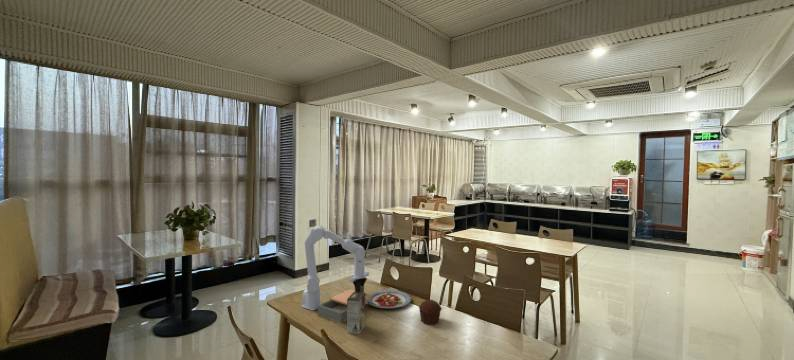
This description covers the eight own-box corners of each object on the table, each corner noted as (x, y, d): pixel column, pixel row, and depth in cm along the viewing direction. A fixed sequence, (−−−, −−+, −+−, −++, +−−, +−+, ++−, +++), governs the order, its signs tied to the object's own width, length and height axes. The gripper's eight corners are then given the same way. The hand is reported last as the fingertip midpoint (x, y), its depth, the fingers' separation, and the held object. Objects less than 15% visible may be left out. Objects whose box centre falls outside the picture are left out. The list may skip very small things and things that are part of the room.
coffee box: (353, 323, 163) (353, 291, 163) (365, 325, 162) (366, 292, 161) (346, 333, 154) (346, 298, 154) (360, 334, 153) (360, 300, 152)
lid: (329, 299, 180) (329, 291, 179) (350, 290, 193) (350, 282, 193) (353, 307, 170) (353, 297, 170) (373, 296, 184) (373, 288, 184)
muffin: (417, 316, 172) (417, 297, 172) (438, 315, 173) (438, 296, 173) (421, 327, 160) (421, 306, 160) (443, 326, 161) (444, 305, 161)
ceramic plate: (356, 301, 191) (356, 296, 191) (390, 290, 209) (390, 285, 209) (385, 316, 172) (385, 310, 172) (420, 302, 190) (420, 297, 190)
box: (318, 315, 172) (318, 305, 172) (339, 304, 186) (339, 295, 185) (341, 323, 164) (341, 313, 163) (361, 311, 177) (361, 302, 177)
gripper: (356, 272, 178) (356, 297, 179) (372, 265, 191) (372, 289, 191) (346, 269, 182) (346, 294, 183) (363, 263, 194) (363, 286, 195)
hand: (359, 291), depth 187 cm, fingers closed on lid, 2 cm apart
